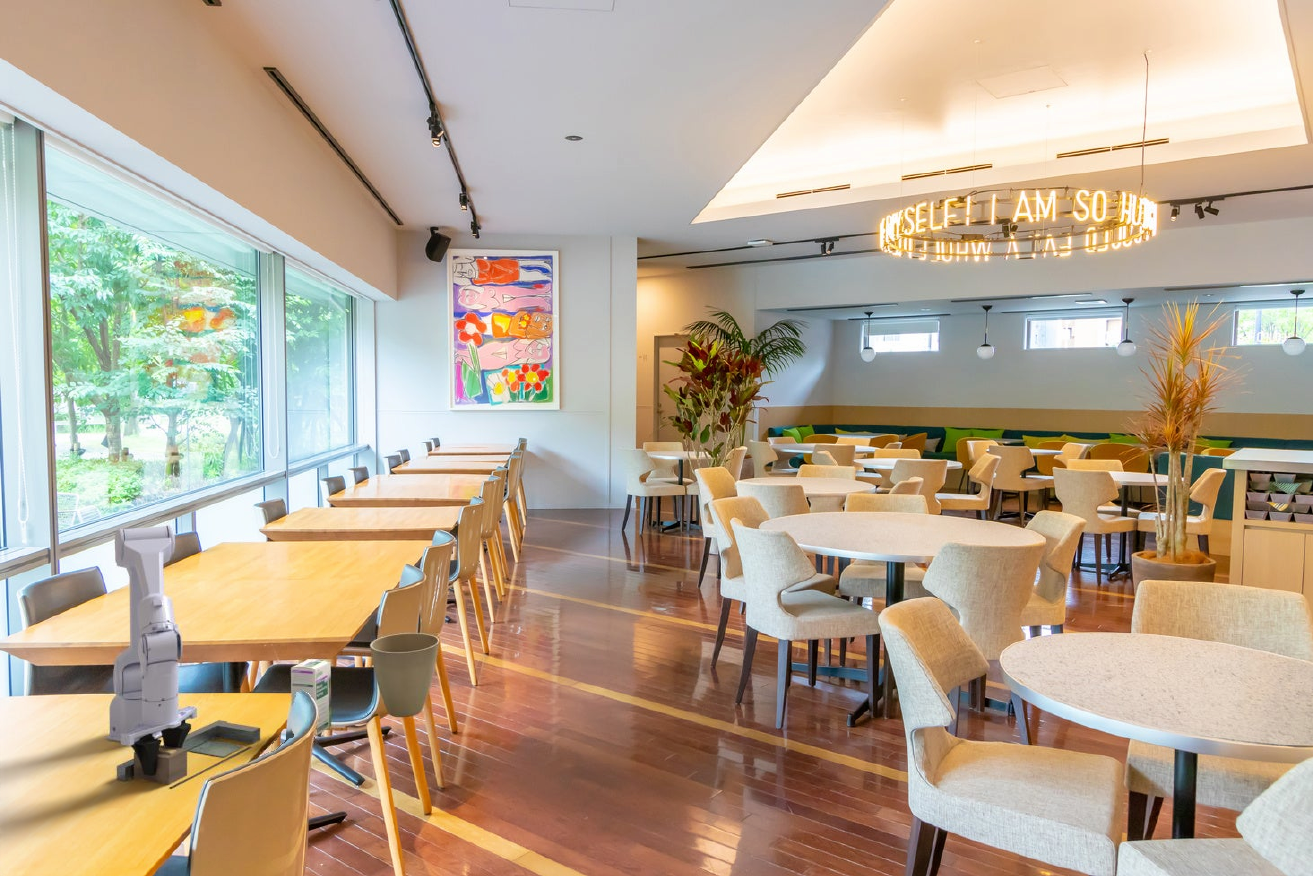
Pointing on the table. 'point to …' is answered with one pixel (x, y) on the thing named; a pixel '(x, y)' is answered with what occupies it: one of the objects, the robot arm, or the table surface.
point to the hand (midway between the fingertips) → (160, 769)
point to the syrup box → (314, 687)
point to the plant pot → (404, 670)
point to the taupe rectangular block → (165, 766)
